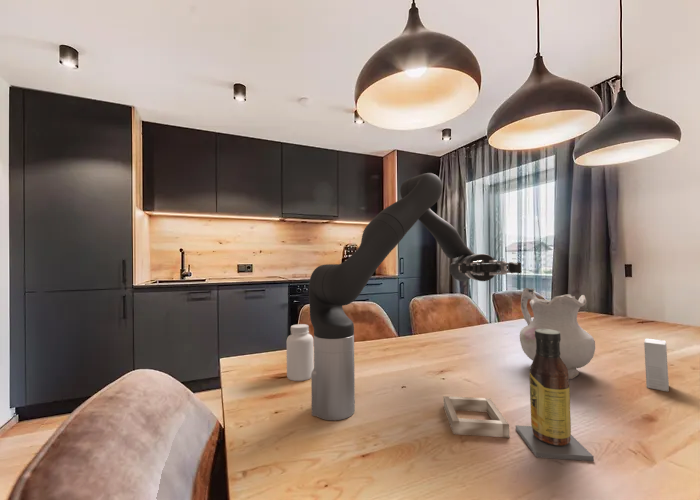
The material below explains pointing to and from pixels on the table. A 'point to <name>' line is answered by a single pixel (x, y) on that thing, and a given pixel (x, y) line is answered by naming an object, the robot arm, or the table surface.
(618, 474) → the table surface
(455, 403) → the pocket frame
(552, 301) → the ceramic pitcher
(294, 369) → the pill bottle
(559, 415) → the sauce bottle
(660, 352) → the skincare box
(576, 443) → the coaster
